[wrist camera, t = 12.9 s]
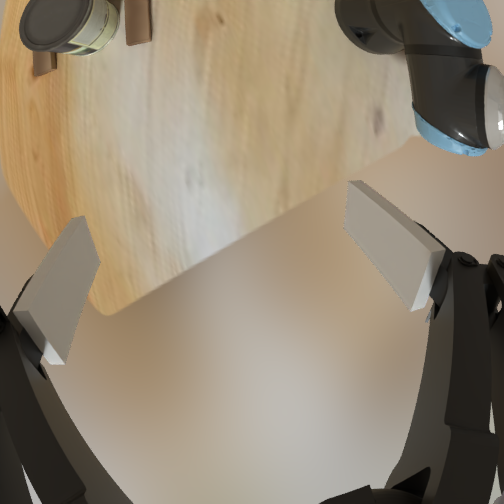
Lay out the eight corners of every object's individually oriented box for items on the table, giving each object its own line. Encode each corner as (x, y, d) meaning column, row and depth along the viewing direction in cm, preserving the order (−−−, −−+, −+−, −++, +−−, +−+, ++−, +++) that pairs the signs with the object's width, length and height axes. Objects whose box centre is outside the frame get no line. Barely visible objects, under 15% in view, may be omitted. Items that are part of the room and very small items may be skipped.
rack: (148, -39, 24) (145, -47, 21) (151, 41, 33) (147, 37, 30) (38, -1, 22) (28, -5, 19) (40, 76, 31) (29, 76, 28)
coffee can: (73, 68, 32) (30, 68, 21) (55, 23, 27) (11, 11, 15) (129, 35, 32) (101, 18, 20) (109, -11, 26) (79, -38, 14)
